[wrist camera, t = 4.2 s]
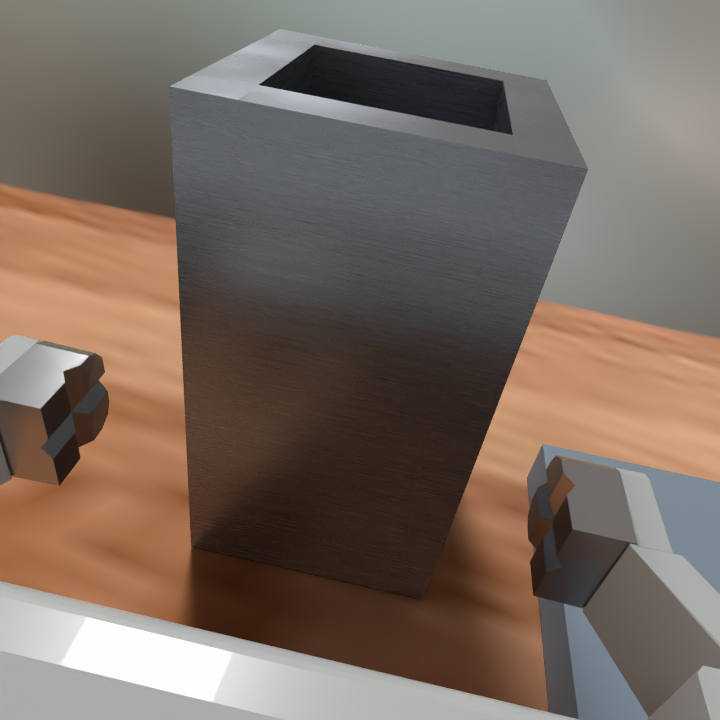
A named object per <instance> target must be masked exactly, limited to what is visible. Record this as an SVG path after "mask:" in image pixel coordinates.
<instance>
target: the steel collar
mask: <svg viewBox="0 0 720 720" xmlns="http://www.w3.org/2000/svg"><path fill="white" fill-rule="evenodd" d="M170 108H171V130H172V150H173V172H174V193H175V214H176V235H177V256H178V277H179V298H180V319H181V340H182V361H183V382H184V404H185V425H186V446H187V467H188V488H189V509H190V530H191V547H195V548H200V549H204V550H208V551H213V552H217V553H221V554H226V555H230V556H235V557H239V558H243V559H248V560H252V561H256V562H261V563H265V564H270V565H274V566H278V567H283V568H287V569H291V570H296V571H300V572H305V573H309V574H313V575H318V576H322V577H326V578H331V579H335V580H340V581H344V582H348V583H353V584H357V585H361V586H366V587H370V588H374V589H379V590H383V591H388V592H392V593H396V594H401V595H405V596H409V597H414V598H418V599H423V597H424V595H425V592H426V590H427V587H428V584H429V582H430V579H431V577H432V574H433V571H434V569H435V566H436V564H437V561H438V558H439V556H440V553H441V551H442V548H443V545H444V543H445V540H446V538H447V535H448V532H449V530H450V527H451V525H452V522H453V519H454V517H455V514H456V512H457V509H458V506H459V504H460V501H461V499H462V496H463V493H464V491H465V488H466V486H467V483H468V480H469V478H470V475H471V473H472V470H473V467H474V465H475V462H476V460H477V457H478V454H479V452H480V449H481V447H482V444H483V441H484V439H485V436H486V434H487V431H488V428H489V426H490V423H491V420H492V418H493V415H494V413H495V410H496V407H497V405H498V402H499V400H500V397H501V394H502V392H503V389H504V387H505V384H506V381H507V379H508V376H509V374H510V371H511V368H512V366H513V363H514V361H515V358H516V355H517V353H518V350H519V348H520V345H521V342H522V340H523V337H524V335H525V332H526V329H527V327H528V324H529V322H530V319H531V316H532V314H533V311H534V309H535V306H536V303H537V301H538V298H539V295H540V293H541V290H542V288H543V285H544V283H545V280H546V277H547V275H548V272H549V270H550V267H551V264H552V262H553V259H554V256H555V254H556V251H557V249H558V246H559V243H560V241H561V238H562V236H563V233H564V230H565V228H566V225H567V223H568V220H569V218H570V215H571V212H572V210H573V207H574V205H575V202H576V199H577V197H578V194H579V191H580V189H581V186H582V184H583V181H584V179H585V176H586V173H587V171H588V168H587V166H586V164H585V161H584V159H583V157H582V155H581V153H580V151H579V149H578V147H577V145H576V142H575V140H574V138H573V136H572V134H571V132H570V129H569V128H568V125H567V123H566V121H565V119H564V117H563V115H562V113H561V110H560V108H559V106H558V104H557V102H556V100H555V97H554V95H553V93H552V91H551V89H550V87H549V85H548V83H547V80H541V79H537V78H532V77H526V76H521V75H515V74H511V73H505V72H500V71H495V70H490V69H485V68H480V67H475V66H469V65H464V64H459V63H454V62H448V61H443V60H438V59H433V58H427V57H423V56H417V55H411V54H407V53H402V52H396V51H391V50H386V49H381V48H375V47H371V46H365V45H360V44H355V43H350V42H345V41H339V40H334V39H329V38H323V37H319V36H313V35H308V34H303V33H298V32H293V31H288V30H282V29H280V30H278V31H276V32H274V33H272V34H270V35H268V36H266V37H264V38H263V39H261V40H259V41H257V42H255V43H253V44H251V45H249V46H247V47H245V48H243V49H241V50H239V51H237V52H235V53H234V54H232V55H229V56H228V57H226V58H224V59H222V60H220V61H218V62H216V63H214V64H212V65H210V66H208V67H206V68H204V69H202V70H200V71H198V72H196V73H194V74H193V75H191V76H189V77H187V78H185V79H183V80H181V81H179V82H177V83H175V84H173V85H171V86H170Z"/></svg>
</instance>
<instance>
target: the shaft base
mask: <svg viewBox="0 0 720 720" xmlns="http://www.w3.org/2000/svg"><path fill="white" fill-rule="evenodd" d="M556 455H557V456H561V457H566V458H571V459H575V460H580V461H585V462H589V463H594V464H599V465H603V466H608V467H612V468H620V469H625V470H629V471H634V472H639V473H644V474H645V475H646V476H647V477H648V478H649V480H650V483H651V486H652V489H653V493H654V496H655V499H656V502H657V505H658V508H659V511H660V514H661V517H662V520H663V523H664V527H665V530H666V533H667V536H668V539H669V542H670V545H671V548H672V551H673V554H677V555H682V556H683V557H684V558H685V559H686V560H687V561H688V562H689V563H690V564H691V565H692V566H693V567H694V568H695V569H696V570H697V571H698V573H699V574H700V575H701V576H702V577H703V578H704V579H705V580H706V581H707V582H708V583H709V584H710V585H711V586H712V587H713V588H714V589H715V590H716V591H717V592H718V593H719V594H720V482H715V481H711V480H706V479H701V478H697V477H692V476H688V475H683V474H678V473H674V472H669V471H664V470H660V469H655V468H651V467H646V466H641V465H637V464H632V463H628V462H623V461H618V460H614V459H609V458H604V457H600V456H595V455H591V454H586V453H581V452H577V451H572V450H568V449H563V448H558V447H554V446H549V445H544V444H543V445H542V447H541V449H540V451H539V453H538V455H537V458H536V460H535V462H534V464H533V466H532V468H531V470H530V472H529V474H528V477H527V481H528V492H529V502H530V505H531V501H532V498H533V496H534V494H535V492H536V490H537V487H539V486H541V485H543V484H545V483H547V475H546V469H547V467H548V466H549V464H550V462H551V460H552V459H553V458H554V457H555V456H556ZM535 551H536V549H535V547H534V553H535ZM538 598H539V608H540V619H541V630H542V640H543V651H544V662H545V672H546V683H547V693H548V704H549V712H550V713H554V714H558V715H563V716H567V717H571V718H575V719H579V720H647V719H648V718H649V717H648V716H647V714H646V712H645V711H644V709H643V708H642V706H641V704H640V703H639V701H638V700H637V698H636V696H635V695H634V693H633V691H632V690H631V688H630V687H629V685H628V683H627V682H626V680H625V679H624V677H623V675H622V674H621V672H620V671H619V669H618V667H617V666H616V664H615V662H614V661H613V659H612V658H611V656H610V654H609V653H608V651H607V650H606V648H605V646H604V645H603V643H602V642H601V640H600V638H599V637H598V635H597V634H596V632H595V630H594V629H593V627H592V625H591V624H590V622H589V621H588V619H587V617H586V616H585V614H584V613H583V608H579V607H575V606H571V605H568V604H564V603H560V602H556V601H552V600H548V599H544V598H540V597H538Z"/></svg>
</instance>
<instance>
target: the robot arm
mask: <svg viewBox="0 0 720 720" xmlns="http://www.w3.org/2000/svg"><path fill="white" fill-rule="evenodd" d="M104 373H105V370H104V365H103V360H102V357H100V356H99V355H97V354H96V353H92V352H87V351H83V350H79V349H75V348H71V347H67V346H63V345H59V344H55V343H51V342H47V341H40V340H36V339H32V338H28V337H24V336H20V335H15V336H11V337H8V338H6V339H5V340H4V341H3V342H2V343H1V344H0V485H2V484H4V483H5V482H7V481H9V480H11V479H12V477H11V476H13V477H18V478H23V479H28V480H32V481H37V482H42V483H47V484H52V485H57V486H60V484H61V483H62V482H63V480H64V479H65V478H66V477H67V475H68V474H69V473H70V471H71V470H72V469H73V467H74V466H75V465H76V463H77V462H78V461H79V459H80V453H79V447H81V446H83V445H85V444H87V443H89V442H91V441H93V440H94V439H95V438H96V437H97V435H98V434H99V432H100V431H101V430H102V428H103V425H104V423H105V420H106V417H107V415H108V407H109V398H108V391H107V390H106V389H105V387H104V386H103V385H102V384H101V383H100V382H99V379H100V377H101V376H102V375H103V374H104ZM546 475H547V483H545V484H543V485H541V486H539V487H537V490H536V492H535V494H534V496H533V498H532V501H531V505H530V509H529V514H528V539H529V541H530V542H531V543H532V545H533V546H534V547H535V549H536V551H535V553H534V555H533V557H532V559H531V561H530V565H531V576H532V587H533V596H537V597H540V598H544V599H548V600H552V601H556V602H560V603H564V604H568V605H571V606H575V607H579V608H583V613H584V614H585V616H586V617H587V619H588V621H589V622H590V624H591V625H592V627H593V629H594V630H595V632H596V634H597V635H598V637H599V638H600V640H601V642H602V643H603V645H604V646H605V648H606V650H607V651H608V653H609V654H610V656H611V658H612V659H613V661H614V662H615V664H616V666H617V667H618V669H619V671H620V672H621V674H622V675H623V677H624V679H625V680H626V682H627V683H628V685H629V687H630V688H631V690H632V691H633V693H634V695H635V696H636V698H637V700H638V701H639V703H640V704H641V706H642V708H643V709H644V711H645V712H646V714H647V716H648V717H649V718H648V719H647V720H720V594H719V593H718V592H717V591H716V590H715V589H714V588H713V587H712V586H711V585H710V584H709V583H708V582H707V581H706V580H705V579H704V578H703V577H702V576H701V575H700V574H699V573H698V571H697V570H696V569H695V568H694V567H693V566H692V565H691V564H690V563H689V562H688V561H687V560H686V559H685V558H684V557H683V556H682V555H677V554H673V551H672V548H671V545H670V542H669V539H668V536H667V533H666V530H665V527H664V523H663V520H662V517H661V514H660V511H659V508H658V505H657V502H656V499H655V496H654V493H653V489H652V486H651V483H650V480H649V478H648V477H647V476H646V475H645V474H644V473H639V472H634V471H629V470H625V469H620V468H612V467H608V466H603V465H599V464H594V463H589V462H585V461H580V460H575V459H571V458H566V457H561V456H557V455H556V456H555V457H554V458H553V459H552V460H551V462H550V464H549V466H548V467H547V469H546ZM0 720H579V719H575V718H571V717H567V716H563V715H558V714H554V713H550V712H546V711H542V710H538V709H533V708H529V707H525V706H521V705H517V704H512V703H508V702H504V701H500V700H496V699H492V698H487V697H483V696H479V695H475V694H471V693H466V692H462V691H458V690H454V689H450V688H445V687H441V686H437V685H433V684H429V683H424V682H420V681H416V680H412V679H408V678H403V677H399V676H395V675H391V674H387V673H383V672H378V671H374V670H370V669H366V668H362V667H357V666H353V665H349V664H345V663H341V662H336V661H332V660H328V659H324V658H320V657H315V656H311V655H307V654H303V653H299V652H294V651H290V650H286V649H282V648H278V647H273V646H269V645H265V644H261V643H257V642H253V641H248V640H244V639H240V638H236V637H232V636H227V635H223V634H219V633H215V632H211V631H206V630H202V629H198V628H194V627H190V626H186V625H181V624H177V623H173V622H169V621H165V620H160V619H156V618H152V617H148V616H144V615H139V614H135V613H131V612H127V611H123V610H118V609H114V608H110V607H106V606H102V605H98V604H93V603H89V602H85V601H81V600H77V599H73V598H68V597H64V596H60V595H56V594H52V593H47V592H43V591H39V590H35V589H31V588H27V587H22V586H18V585H14V584H10V583H6V582H1V581H0Z"/></svg>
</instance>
